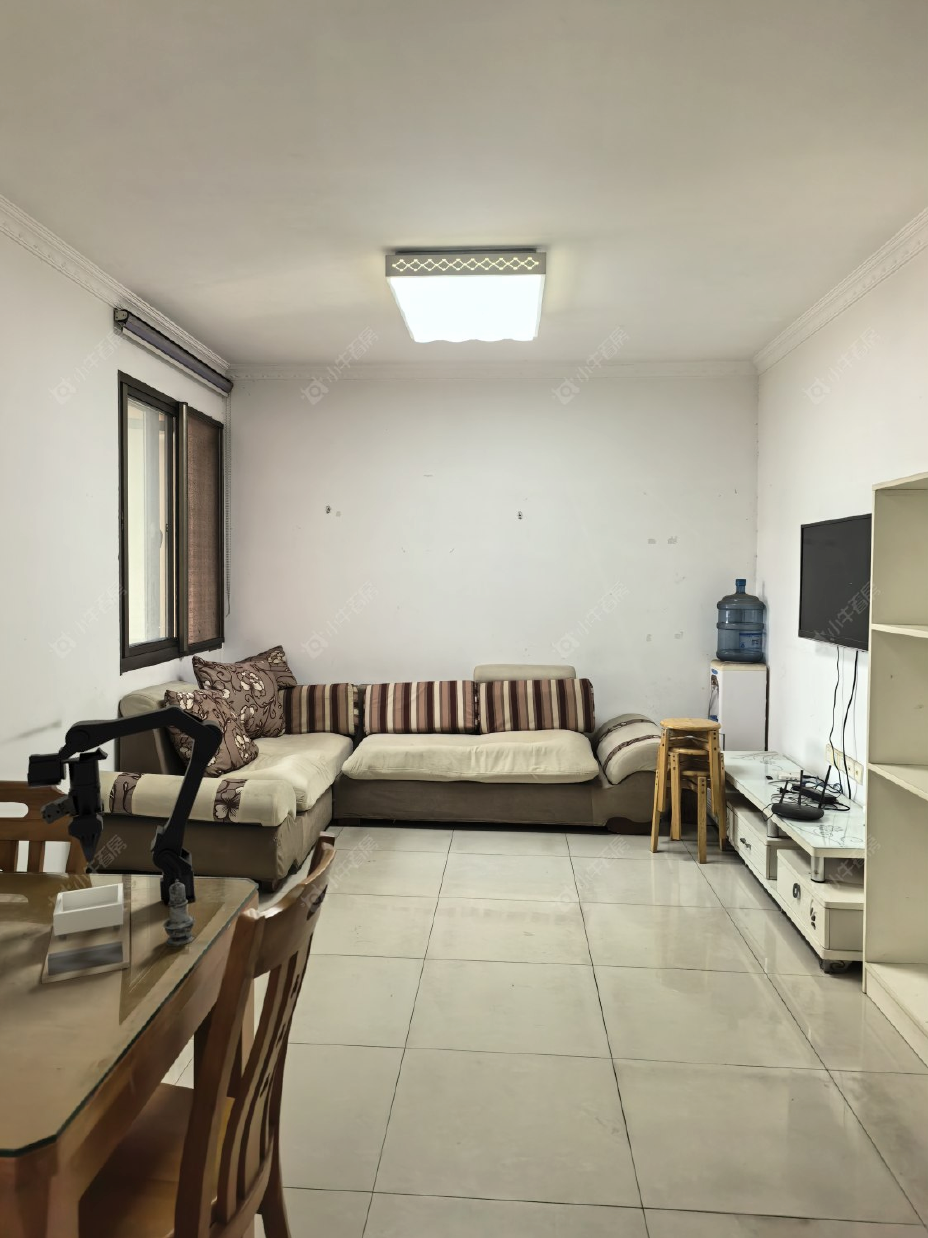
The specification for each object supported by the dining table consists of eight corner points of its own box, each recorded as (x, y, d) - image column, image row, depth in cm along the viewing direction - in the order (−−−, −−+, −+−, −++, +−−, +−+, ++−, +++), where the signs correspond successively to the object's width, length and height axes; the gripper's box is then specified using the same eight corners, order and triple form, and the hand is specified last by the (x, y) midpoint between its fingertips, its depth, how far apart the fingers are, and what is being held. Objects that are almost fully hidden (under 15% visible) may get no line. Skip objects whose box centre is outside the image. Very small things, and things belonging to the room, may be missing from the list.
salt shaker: (202, 935, 162) (199, 874, 162) (182, 948, 157) (179, 885, 156) (177, 932, 164) (173, 872, 164) (156, 945, 159) (153, 883, 158)
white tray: (124, 908, 174) (122, 883, 173) (123, 931, 162) (122, 903, 162) (59, 919, 169) (58, 893, 169) (55, 943, 158) (53, 915, 158)
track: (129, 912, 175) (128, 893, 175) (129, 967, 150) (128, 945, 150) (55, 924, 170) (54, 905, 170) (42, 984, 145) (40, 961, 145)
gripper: (46, 777, 180) (51, 849, 181) (37, 798, 163) (43, 877, 164) (102, 771, 184) (107, 840, 185) (99, 790, 167) (104, 867, 168)
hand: (90, 855), depth 175 cm, fingers open, 7 cm apart
